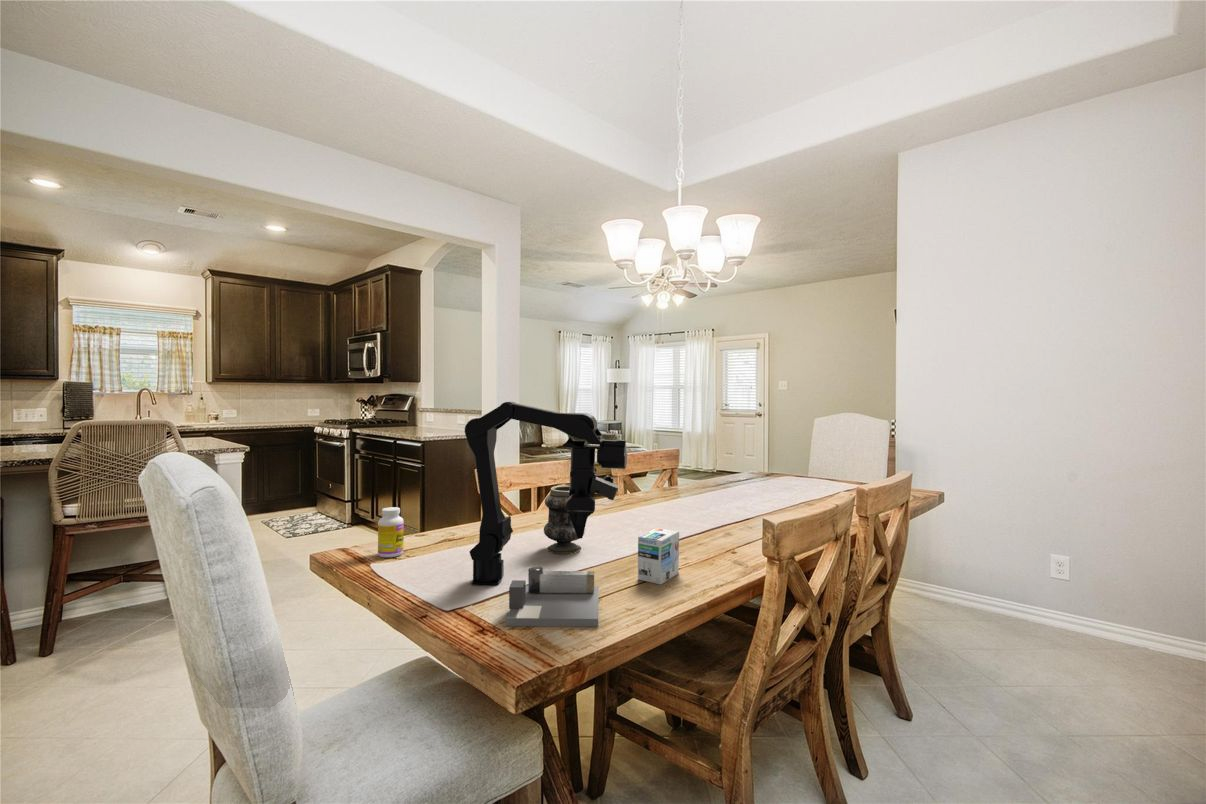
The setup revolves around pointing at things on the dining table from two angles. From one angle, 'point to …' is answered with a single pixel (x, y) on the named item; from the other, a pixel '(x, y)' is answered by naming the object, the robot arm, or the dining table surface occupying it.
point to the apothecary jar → (560, 522)
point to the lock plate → (551, 607)
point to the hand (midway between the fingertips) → (580, 532)
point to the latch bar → (560, 581)
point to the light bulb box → (658, 555)
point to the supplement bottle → (390, 533)
